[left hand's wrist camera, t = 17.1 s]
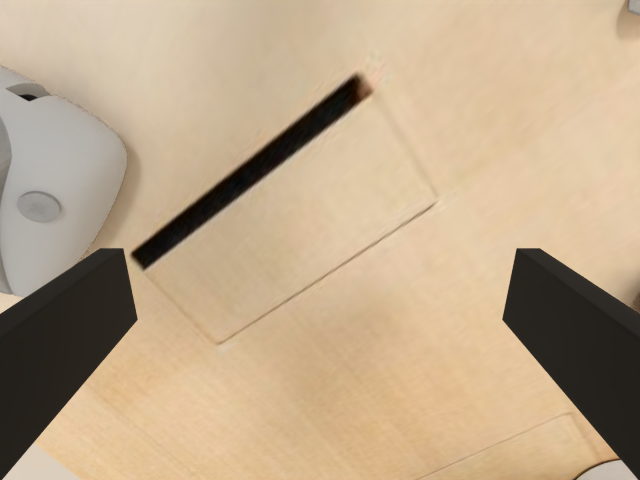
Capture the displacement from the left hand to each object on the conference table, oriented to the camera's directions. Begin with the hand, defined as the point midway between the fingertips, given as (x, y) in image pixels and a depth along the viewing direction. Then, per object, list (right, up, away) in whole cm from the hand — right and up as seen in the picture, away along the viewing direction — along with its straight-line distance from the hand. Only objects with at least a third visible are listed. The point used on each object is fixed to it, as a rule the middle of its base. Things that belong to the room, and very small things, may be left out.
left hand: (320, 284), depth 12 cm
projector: (-29, +7, +27) cm, 40 cm away
